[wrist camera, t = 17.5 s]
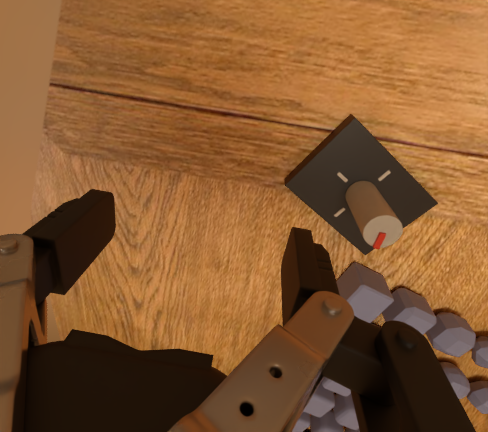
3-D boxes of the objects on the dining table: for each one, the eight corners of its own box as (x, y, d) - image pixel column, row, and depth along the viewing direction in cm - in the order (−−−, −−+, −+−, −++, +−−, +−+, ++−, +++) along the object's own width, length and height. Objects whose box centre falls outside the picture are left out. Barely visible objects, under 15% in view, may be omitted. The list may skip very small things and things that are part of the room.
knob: (351, 177, 33) (373, 213, 26) (381, 184, 33) (411, 221, 26) (340, 204, 35) (357, 245, 28) (369, 210, 35) (393, 253, 28)
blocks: (353, 260, 41) (362, 285, 37) (543, 353, 46) (571, 385, 42) (239, 388, 57) (236, 415, 53) (388, 446, 62) (397, 475, 58)
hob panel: (284, 178, 36) (284, 186, 34) (350, 113, 32) (355, 118, 30) (361, 246, 40) (365, 256, 38) (430, 195, 35) (439, 204, 34)
